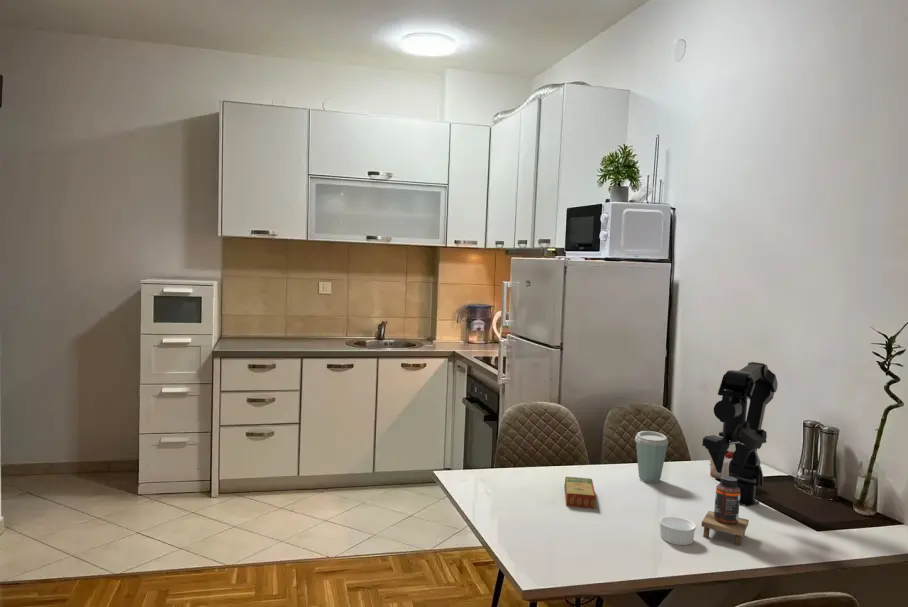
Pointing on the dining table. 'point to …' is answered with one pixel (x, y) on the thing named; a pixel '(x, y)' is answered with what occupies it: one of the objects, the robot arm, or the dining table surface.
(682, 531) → the ramekin
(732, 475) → the robot arm
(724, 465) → the food item
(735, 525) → the stool
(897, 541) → the dining table surface
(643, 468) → the disposable coffee cup
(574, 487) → the carton
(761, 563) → the dining table surface
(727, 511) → the supplement bottle
